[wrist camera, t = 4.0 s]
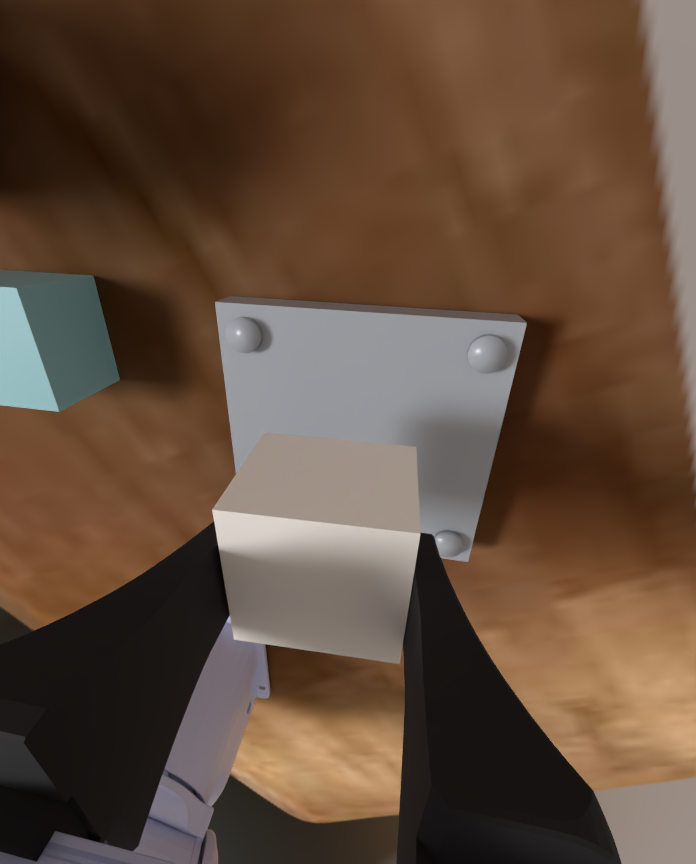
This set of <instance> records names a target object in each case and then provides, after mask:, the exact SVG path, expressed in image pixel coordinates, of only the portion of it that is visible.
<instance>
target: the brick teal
mask: <svg viewBox="0 0 696 864" xmlns="http://www.w3.org/2000/svg"><path fill="white" fill-rule="evenodd" d="M119 380H120V378H119V374H118V370H117V366H116V362H115V358H114V354H113V350H112V347H111V343H110V339H109V335H108V331H107V327H106V323H105V319H104V315H103V311H102V307H101V303H100V300H99V296H98V292H97V288H96V284H95V280H94V276H92V275H76V274H60V273H44V272H29V271H13V270H0V405H4V406H13V407H22V408H31V409H39V410H48V411H57V412H60V411H62V410H64V409H66V408H68V407H70V406H71V405H73V404H75V403H77V402H79V401H81V400H83V399H85V398H87V397H89V396H91V395H93V394H94V393H96V392H98V391H100V390H102V389H104V388H106V387H108V386H110V385H112V384H114V383H116V382H117V381H119Z"/></svg>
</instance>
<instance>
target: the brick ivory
mask: <svg viewBox="0 0 696 864" xmlns="http://www.w3.org/2000/svg"><path fill="white" fill-rule="evenodd" d="M212 511H213V517H214V523H215V529H216V535H217V541H218V547H219V553H220V559H221V565H222V571H223V577H224V583H225V589H226V595H227V601H228V607H229V613H230V619H231V625H232V631H233V637H234V640H241V641H248V642H254V643H261V644H268V645H274V646H281V647H288V648H295V649H301V650H308V651H315V652H322V653H328V654H335V655H342V656H349V657H355V658H362V659H369V660H376V661H382V662H389V663H396V664H400V659H401V652H402V646H403V640H404V634H405V627H406V621H407V615H408V609H409V602H410V596H411V590H412V584H413V577H414V571H415V565H416V559H417V553H418V546H419V540H420V512H419V491H418V470H417V449H416V447H413V446H403V445H392V444H381V443H371V442H360V441H349V440H338V439H328V438H317V437H306V436H296V435H285V434H274V433H264V434H263V435H262V437H261V438H260V440H259V441H258V443H257V444H256V446H255V447H254V449H253V450H252V452H251V453H250V455H249V456H248V458H247V459H246V461H245V462H244V464H243V465H242V467H241V468H240V469H239V471H238V472H237V474H236V475H235V477H234V478H233V480H232V481H231V483H230V484H229V486H228V487H227V489H226V490H225V492H224V493H223V495H222V496H221V498H220V499H219V501H218V502H217V503H216V505H215V506H214V508H213V509H212Z"/></svg>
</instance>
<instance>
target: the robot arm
mask: <svg viewBox="0 0 696 864" xmlns="http://www.w3.org/2000/svg"><path fill="white" fill-rule="evenodd" d="M403 648H404V676H405V715H404V736H403V756H402V775H401V794H400V812H399V830H398V847H397V864H621V861H620V858H619V854H618V851H617V848H616V845H615V842H614V839H613V836H612V833H611V831H610V829H609V826H608V824H607V821H606V819H605V816H604V814H603V812H602V810H601V807H600V805H599V803H598V800H597V798H596V796H595V794H594V791H593V790H592V789H591V788H590V787H589V785H588V784H587V783H586V782H585V781H584V780H583V779H582V777H581V776H580V775H579V774H578V773H577V772H576V771H575V769H574V768H573V767H572V766H571V765H570V764H569V762H568V761H567V760H566V759H565V758H564V756H563V755H562V754H561V753H560V752H559V750H558V749H557V748H556V747H555V746H554V744H553V743H552V742H551V741H550V739H549V738H548V737H547V736H546V734H545V733H544V732H543V731H542V729H541V728H540V727H539V726H538V724H537V723H536V722H535V720H534V719H533V718H532V717H531V715H530V714H529V712H528V711H527V710H526V708H525V707H524V706H523V704H522V703H521V701H520V700H519V699H518V697H517V696H516V695H515V693H514V692H513V690H512V689H511V688H510V686H509V685H508V683H507V682H506V681H505V679H504V678H503V676H502V675H501V673H500V672H499V670H498V669H497V667H496V666H495V664H494V662H493V661H492V659H491V658H490V656H489V655H488V653H487V651H486V650H485V648H484V646H483V645H482V643H481V641H480V640H479V638H478V636H477V635H476V633H475V631H474V629H473V627H472V626H471V624H470V622H469V620H468V618H467V616H466V614H465V612H464V610H463V608H462V606H461V604H460V602H459V600H458V598H457V596H456V594H455V591H454V589H453V587H452V585H451V583H450V580H449V578H448V576H447V573H446V571H445V568H444V565H443V563H442V560H441V557H440V554H439V551H438V548H437V545H436V541H435V537H434V536H433V535H432V534H428V533H420V540H419V546H418V553H417V559H416V565H415V571H414V577H413V584H412V590H411V596H410V602H409V609H408V615H407V621H406V627H405V634H404V640H403ZM269 695H270V682H269V673H268V663H267V654H266V645H265V644H261V643H254V642H248V641H241V640H234V637H233V631H232V625H231V619H230V613H229V607H228V601H227V595H226V589H225V583H224V577H223V571H222V565H221V559H220V553H219V547H218V541H217V535H216V529H215V523H214V522H213V523H211V524H210V525H209V526H208V527H206V528H205V529H204V530H202V531H201V532H200V533H199V534H197V535H196V536H195V537H193V538H192V539H191V540H190V541H188V542H187V543H186V544H184V545H183V546H182V547H180V548H179V549H178V550H176V551H175V552H174V553H172V554H171V555H169V556H168V557H166V558H165V559H164V560H162V561H161V562H159V563H158V564H156V565H155V566H154V567H152V568H151V569H149V570H148V571H146V572H145V573H143V574H141V575H140V576H138V577H137V578H135V579H134V580H132V581H130V582H129V583H127V584H125V585H123V586H122V587H120V588H118V589H117V590H115V591H113V592H112V593H110V594H108V595H106V596H104V597H102V598H100V599H98V600H97V601H95V602H93V603H91V604H89V605H87V606H85V607H83V608H81V609H79V610H78V611H76V612H74V613H72V614H70V615H68V616H66V617H63V618H61V619H59V620H57V621H55V622H53V623H51V624H49V625H46V626H44V627H42V628H39V629H37V630H35V631H33V632H31V633H29V634H26V635H23V636H21V637H19V638H16V639H14V640H11V641H9V642H6V643H4V644H1V645H0V864H218V852H217V847H216V836H215V833H214V832H213V831H212V830H209V829H207V828H208V825H209V822H210V819H211V817H212V814H213V811H214V809H213V808H212V807H211V806H212V805H213V804H214V803H215V801H216V799H217V798H218V797H219V796H220V794H221V793H222V791H223V789H224V787H225V785H226V783H227V780H228V777H229V775H230V772H231V769H232V766H233V763H234V760H235V757H236V754H237V752H238V749H239V746H240V743H241V740H242V737H243V734H244V731H245V728H246V726H247V723H248V720H249V717H250V714H251V711H252V708H253V705H254V702H255V700H256V697H258V698H264V699H266V698H268V697H269Z"/></svg>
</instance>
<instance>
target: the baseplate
mask: <svg viewBox="0 0 696 864" xmlns="http://www.w3.org/2000/svg"><path fill="white" fill-rule="evenodd" d="M215 306H216V315H217V323H218V331H219V339H220V347H221V355H222V363H223V371H224V379H225V388H226V396H227V404H228V412H229V420H230V428H231V436H232V444H233V453H234V461H235V469H236V474H237V472H238V471H239V469H240V468H241V467H242V465H243V464H244V462H245V461H246V459H247V458H248V456H249V455H250V453H251V452H252V450H253V449H254V447H255V446H256V444H257V443H258V441H259V440H260V438H261V437H262V435H263V434H264V433H274V434H285V435H296V436H306V437H317V438H328V439H338V440H349V441H360V442H371V443H381V444H392V445H403V446H413V447H416V449H417V470H418V491H419V512H420V533H428V534H432V535H433V536H434V537H435V541H436V545H437V548H438V551H439V554H440V557H441V558H444V559H451V560H458V561H465V562H468V560H469V556H470V552H471V548H472V544H473V540H474V535H475V531H476V527H477V523H478V519H479V515H480V511H481V507H482V503H483V499H484V495H485V491H486V487H487V483H488V479H489V475H490V471H491V467H492V463H493V459H494V455H495V451H496V447H497V442H498V438H499V434H500V430H501V426H502V422H503V418H504V414H505V410H506V406H507V402H508V398H509V394H510V390H511V386H512V382H513V378H514V374H515V370H516V366H517V362H518V358H519V354H520V349H521V345H522V341H523V337H524V333H525V329H526V325H527V322H526V321H524V320H523V319H522V318H521V317H520V316H519V315H517V314H501V313H486V312H470V311H455V310H440V309H424V308H409V307H393V306H378V305H362V304H347V303H331V302H316V301H301V300H285V299H270V298H254V297H239V296H229V297H227V298H224V299H221V300H219V301H216V302H215Z"/></svg>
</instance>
